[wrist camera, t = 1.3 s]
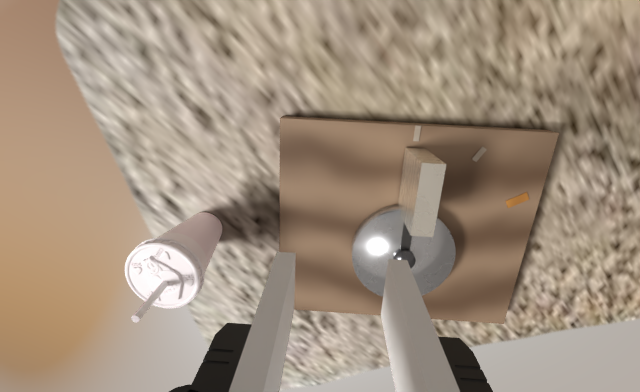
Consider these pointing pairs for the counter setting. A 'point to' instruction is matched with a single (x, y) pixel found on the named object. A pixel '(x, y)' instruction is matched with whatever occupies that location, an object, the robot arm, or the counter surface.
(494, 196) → the panel
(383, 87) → the counter surface
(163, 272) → the smoothie
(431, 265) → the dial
